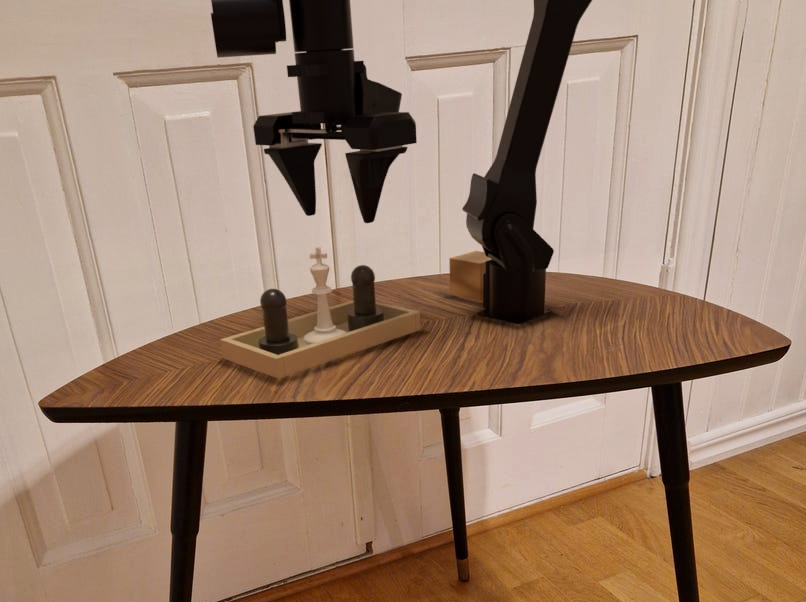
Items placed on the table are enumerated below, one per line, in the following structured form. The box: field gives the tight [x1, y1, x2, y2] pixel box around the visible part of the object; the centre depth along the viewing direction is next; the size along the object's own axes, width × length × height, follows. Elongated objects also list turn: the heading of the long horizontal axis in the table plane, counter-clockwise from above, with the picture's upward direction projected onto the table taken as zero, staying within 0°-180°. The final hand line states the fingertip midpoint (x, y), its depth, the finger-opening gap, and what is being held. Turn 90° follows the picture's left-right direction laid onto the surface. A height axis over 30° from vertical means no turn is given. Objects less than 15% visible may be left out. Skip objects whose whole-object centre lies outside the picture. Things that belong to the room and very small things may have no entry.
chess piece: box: [303, 246, 347, 346], centre depth 84 cm, size 5×5×10 cm
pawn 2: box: [347, 264, 384, 332], centre depth 88 cm, size 4×4×7 cm
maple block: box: [449, 250, 492, 302], centre depth 101 cm, size 5×5×5 cm
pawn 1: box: [258, 288, 299, 355], centre depth 81 cm, size 4×4×7 cm
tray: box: [219, 299, 422, 380], centre depth 86 cm, size 20×10×2 cm, turn 134°
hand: (339, 218), depth 85 cm, fingers open, 9 cm apart
